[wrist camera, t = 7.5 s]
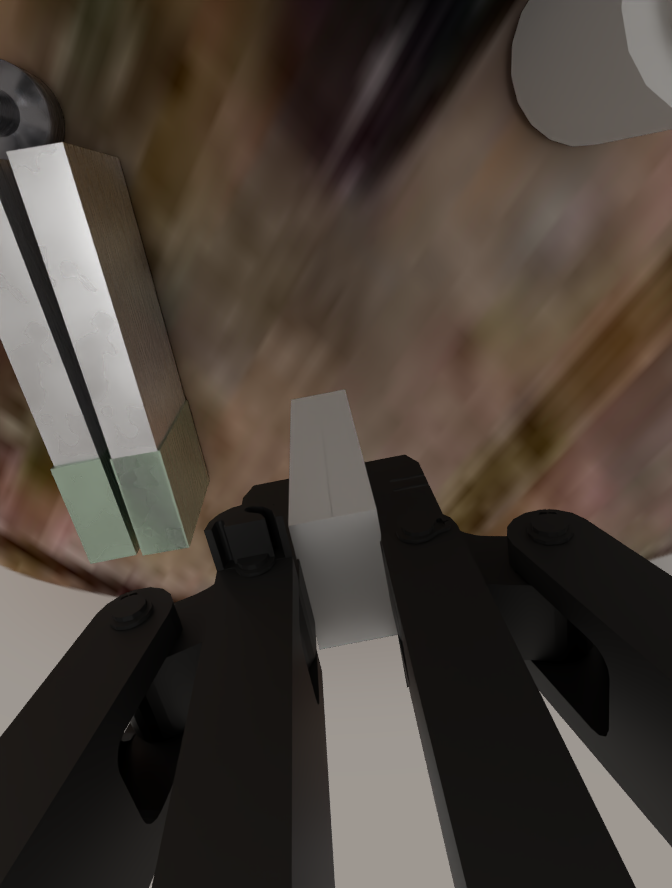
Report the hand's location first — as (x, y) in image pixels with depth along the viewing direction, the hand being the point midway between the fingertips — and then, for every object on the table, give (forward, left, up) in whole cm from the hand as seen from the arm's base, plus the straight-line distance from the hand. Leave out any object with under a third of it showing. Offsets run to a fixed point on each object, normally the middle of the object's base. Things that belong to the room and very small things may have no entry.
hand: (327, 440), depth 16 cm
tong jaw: (-1, -8, -15) cm, 18 cm away
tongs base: (-3, -11, -16) cm, 20 cm away
